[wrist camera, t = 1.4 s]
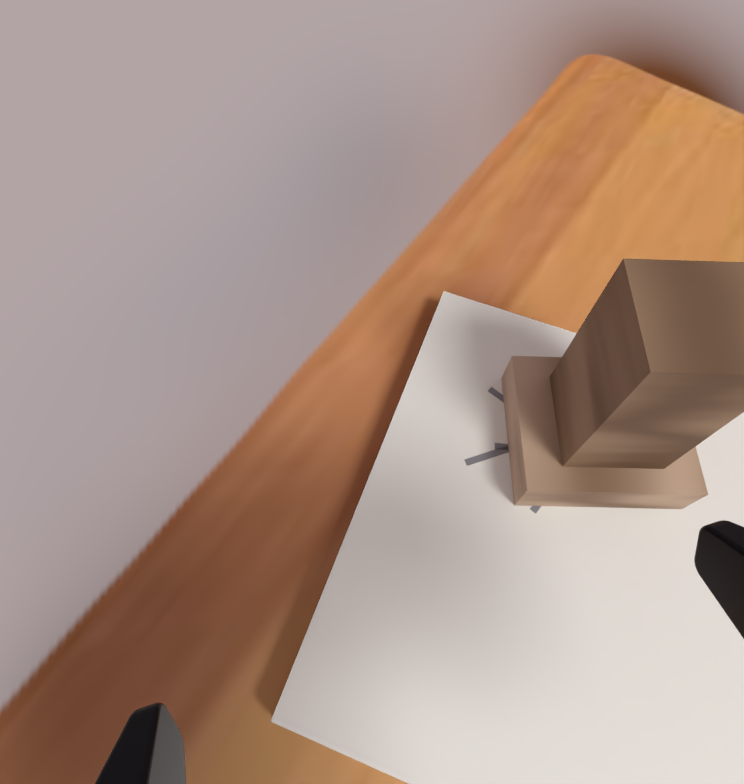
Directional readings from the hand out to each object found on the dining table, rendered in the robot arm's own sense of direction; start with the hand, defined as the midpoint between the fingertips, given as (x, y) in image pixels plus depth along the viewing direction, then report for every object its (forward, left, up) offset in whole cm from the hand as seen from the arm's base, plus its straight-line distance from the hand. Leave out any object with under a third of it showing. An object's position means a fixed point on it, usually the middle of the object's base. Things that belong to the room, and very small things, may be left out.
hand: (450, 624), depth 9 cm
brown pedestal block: (-5, -11, -13) cm, 18 cm away
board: (-8, -7, -15) cm, 18 cm away
